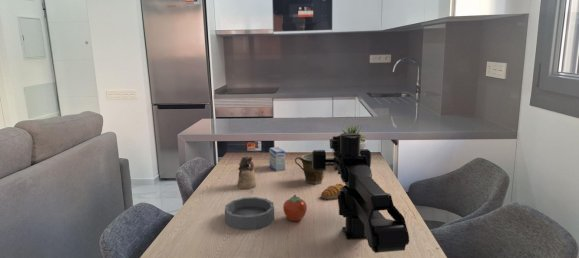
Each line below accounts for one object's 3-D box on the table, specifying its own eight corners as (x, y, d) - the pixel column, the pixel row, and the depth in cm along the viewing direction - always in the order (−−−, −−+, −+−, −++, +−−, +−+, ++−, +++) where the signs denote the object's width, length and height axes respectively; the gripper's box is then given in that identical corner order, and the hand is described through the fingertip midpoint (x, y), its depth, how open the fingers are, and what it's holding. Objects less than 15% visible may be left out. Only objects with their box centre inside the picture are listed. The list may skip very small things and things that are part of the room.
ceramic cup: (329, 178, 158) (330, 154, 156) (323, 187, 149) (323, 161, 147) (299, 175, 163) (299, 152, 160) (291, 183, 153) (290, 158, 151)
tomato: (307, 214, 126) (307, 190, 124) (306, 224, 119) (306, 199, 117) (284, 213, 127) (284, 189, 125) (281, 223, 120) (281, 199, 118)
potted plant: (329, 165, 175) (329, 121, 171) (354, 160, 182) (355, 117, 177) (346, 172, 165) (346, 126, 160) (372, 167, 171) (373, 122, 167)
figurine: (246, 181, 156) (245, 152, 154) (260, 185, 152) (259, 155, 150) (234, 187, 151) (232, 157, 148) (248, 190, 147) (247, 159, 144)
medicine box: (269, 166, 175) (268, 147, 173) (278, 165, 177) (278, 146, 175) (276, 171, 168) (275, 152, 166) (285, 170, 170) (285, 150, 168)
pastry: (330, 202, 135) (329, 192, 134) (316, 197, 140) (316, 187, 139) (348, 195, 141) (348, 185, 140) (335, 190, 146) (335, 180, 145)
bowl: (275, 228, 117) (275, 215, 116) (224, 231, 115) (223, 218, 115) (272, 207, 131) (272, 196, 131) (227, 209, 130) (226, 198, 129)
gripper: (378, 139, 118) (362, 129, 133) (317, 140, 116) (308, 130, 131) (376, 174, 120) (361, 161, 135) (316, 176, 118) (308, 163, 133)
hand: (335, 153), depth 134 cm, fingers open, 9 cm apart
